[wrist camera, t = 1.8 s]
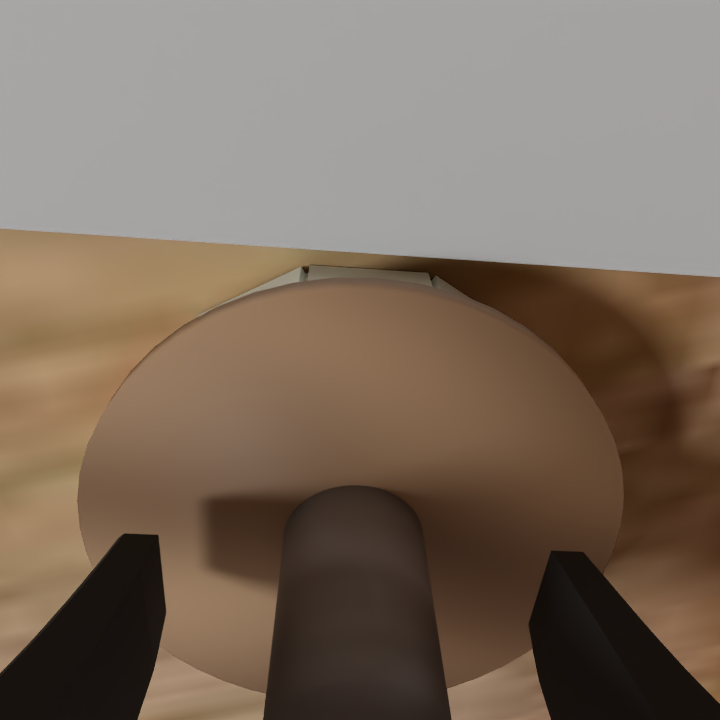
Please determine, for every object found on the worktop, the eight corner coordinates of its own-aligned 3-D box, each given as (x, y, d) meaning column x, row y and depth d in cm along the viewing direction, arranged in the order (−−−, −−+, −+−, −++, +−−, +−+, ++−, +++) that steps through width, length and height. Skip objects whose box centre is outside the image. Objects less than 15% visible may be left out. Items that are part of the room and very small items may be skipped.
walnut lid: (547, 685, 16) (615, 909, 12) (118, 673, 16) (40, 905, 12) (685, 298, 11) (883, 464, 7) (48, 256, 10) (-140, 411, 6)
